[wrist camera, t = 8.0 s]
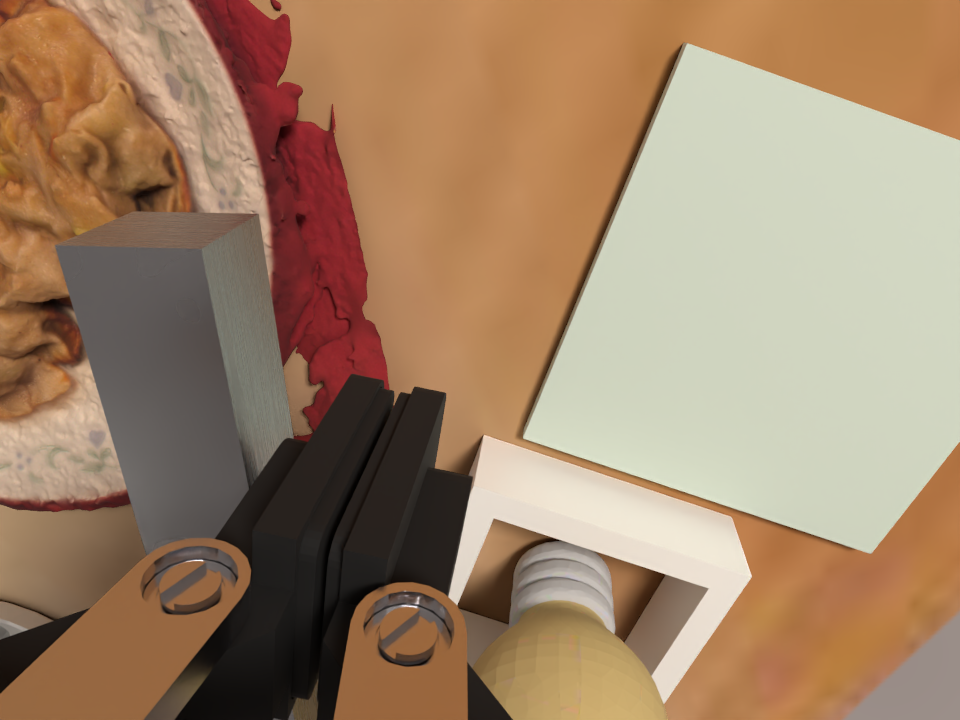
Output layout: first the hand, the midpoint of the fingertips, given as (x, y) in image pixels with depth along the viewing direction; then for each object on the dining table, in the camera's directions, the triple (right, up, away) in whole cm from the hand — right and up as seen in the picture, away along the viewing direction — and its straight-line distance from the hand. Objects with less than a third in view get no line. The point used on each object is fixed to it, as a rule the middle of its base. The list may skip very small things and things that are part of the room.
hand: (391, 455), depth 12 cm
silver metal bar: (-3, -3, +2) cm, 5 cm away
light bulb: (+5, -6, +15) cm, 17 cm away
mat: (+11, +3, +10) cm, 15 cm away
